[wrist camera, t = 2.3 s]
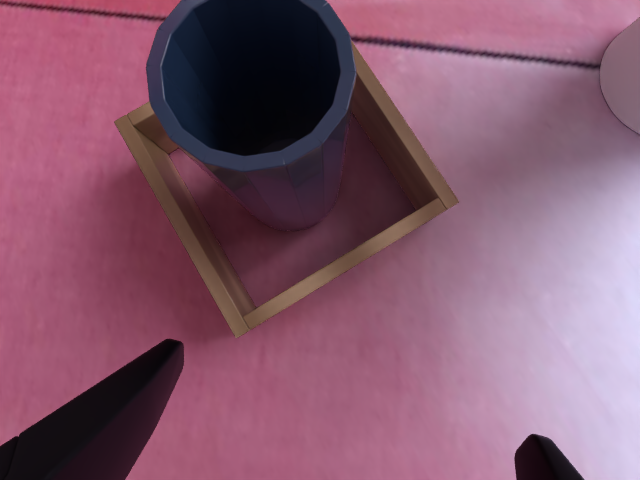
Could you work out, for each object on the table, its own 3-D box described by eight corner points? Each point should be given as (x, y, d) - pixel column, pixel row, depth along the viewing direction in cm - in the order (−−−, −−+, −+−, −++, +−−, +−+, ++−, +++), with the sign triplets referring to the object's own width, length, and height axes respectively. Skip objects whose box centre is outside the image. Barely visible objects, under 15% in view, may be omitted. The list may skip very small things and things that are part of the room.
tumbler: (273, 249, 24) (210, 210, 11) (224, 167, 24) (110, 37, 11) (357, 199, 24) (395, 100, 11) (307, 119, 25) (287, -61, 12)
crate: (253, 328, 23) (235, 338, 19) (151, 150, 25) (113, 121, 20) (434, 216, 24) (459, 201, 19) (325, 50, 25) (325, 0, 21)
